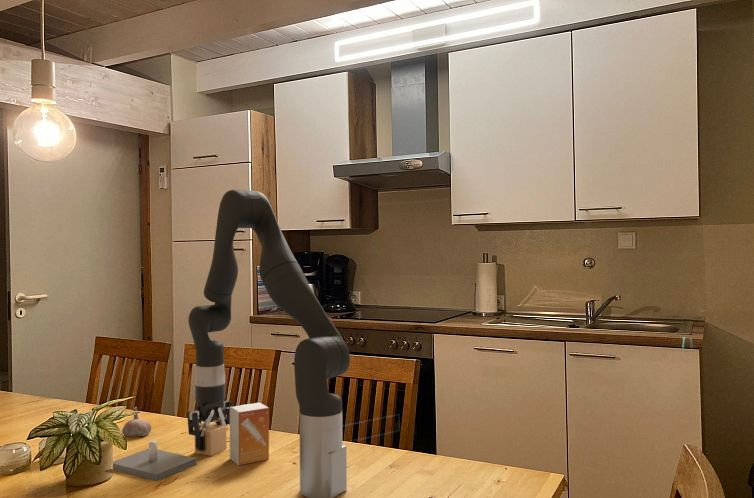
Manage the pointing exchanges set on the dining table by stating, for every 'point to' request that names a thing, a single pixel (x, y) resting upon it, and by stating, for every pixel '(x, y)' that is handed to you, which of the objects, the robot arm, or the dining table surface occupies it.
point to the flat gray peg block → (153, 463)
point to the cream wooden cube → (214, 440)
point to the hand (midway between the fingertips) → (210, 446)
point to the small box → (249, 433)
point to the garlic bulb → (136, 427)
